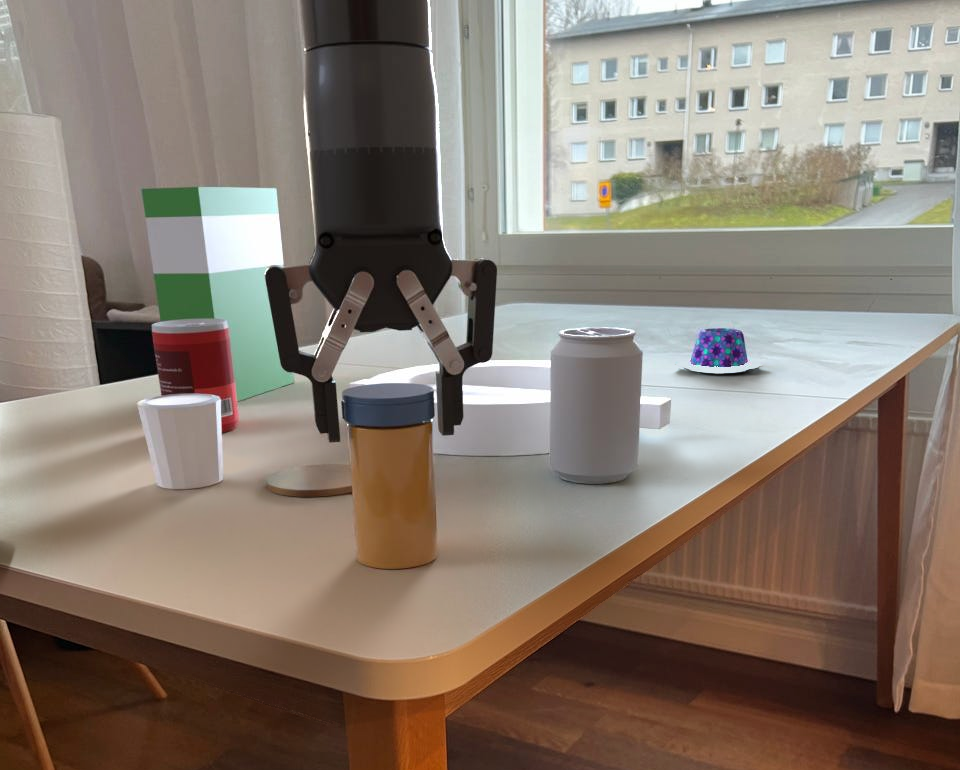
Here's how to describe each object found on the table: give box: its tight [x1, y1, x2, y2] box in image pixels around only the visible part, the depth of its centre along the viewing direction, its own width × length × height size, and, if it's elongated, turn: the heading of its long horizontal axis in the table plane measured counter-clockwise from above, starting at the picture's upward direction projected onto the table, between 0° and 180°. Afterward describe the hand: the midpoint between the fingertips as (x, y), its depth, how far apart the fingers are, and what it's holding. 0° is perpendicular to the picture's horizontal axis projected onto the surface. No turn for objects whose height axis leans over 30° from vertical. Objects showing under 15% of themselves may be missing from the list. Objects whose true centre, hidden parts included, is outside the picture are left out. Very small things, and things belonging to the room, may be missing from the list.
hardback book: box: [141, 186, 296, 403], centre depth 123 cm, size 18×7×24 cm, turn 162°
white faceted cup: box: [136, 393, 224, 490], centre depth 85 cm, size 7×7×7 cm
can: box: [549, 327, 644, 485], centre depth 83 cm, size 8×8×12 cm
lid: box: [340, 383, 435, 427], centre depth 62 cm, size 6×6×2 cm
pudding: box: [690, 327, 749, 367], centre depth 136 cm, size 12×12×5 cm
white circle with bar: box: [348, 359, 672, 457], centre depth 104 cm, size 28×28×5 cm
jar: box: [346, 419, 439, 570], centre depth 64 cm, size 5×5×10 cm
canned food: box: [151, 319, 240, 434], centre depth 105 cm, size 8×8×11 cm
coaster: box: [265, 463, 352, 498], centre depth 84 cm, size 9×9×1 cm
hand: (390, 435), depth 63 cm, fingers open, 6 cm apart
